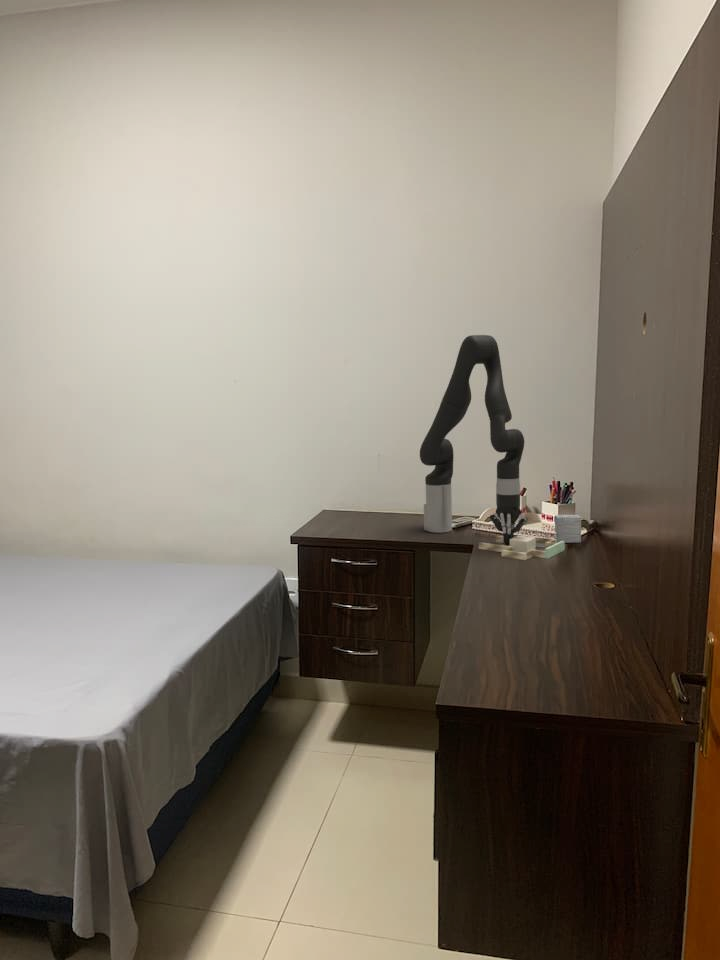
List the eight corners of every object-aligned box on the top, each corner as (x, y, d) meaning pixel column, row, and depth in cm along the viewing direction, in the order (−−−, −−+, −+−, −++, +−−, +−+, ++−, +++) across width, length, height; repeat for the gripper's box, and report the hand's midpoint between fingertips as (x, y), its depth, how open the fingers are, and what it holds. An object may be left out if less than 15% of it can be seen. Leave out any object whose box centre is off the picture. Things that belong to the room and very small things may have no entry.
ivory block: (509, 551, 235) (509, 539, 234) (518, 547, 239) (518, 535, 239) (526, 554, 231) (527, 541, 230) (535, 550, 236) (535, 537, 235)
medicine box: (578, 539, 246) (578, 514, 245) (581, 543, 242) (581, 517, 240) (554, 540, 247) (554, 514, 246) (556, 543, 242) (556, 517, 241)
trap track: (470, 552, 235) (470, 543, 235) (504, 538, 252) (504, 529, 251) (540, 562, 220) (540, 552, 220) (571, 547, 237) (571, 537, 236)
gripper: (484, 492, 237) (484, 544, 240) (521, 495, 229) (521, 549, 231) (495, 488, 243) (496, 539, 245) (532, 491, 235) (532, 544, 237)
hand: (508, 544), depth 238 cm, fingers closed
